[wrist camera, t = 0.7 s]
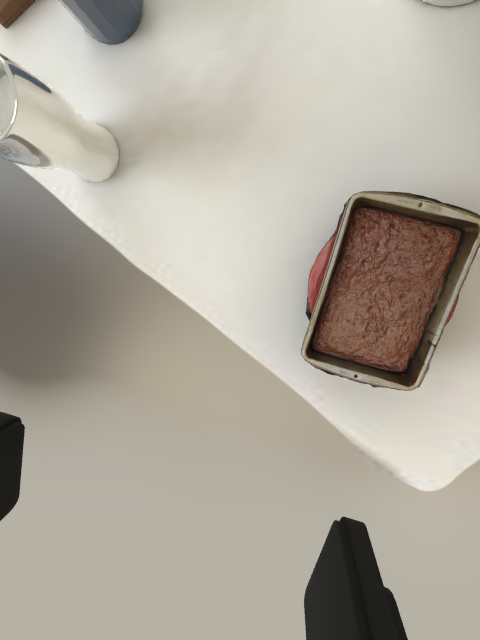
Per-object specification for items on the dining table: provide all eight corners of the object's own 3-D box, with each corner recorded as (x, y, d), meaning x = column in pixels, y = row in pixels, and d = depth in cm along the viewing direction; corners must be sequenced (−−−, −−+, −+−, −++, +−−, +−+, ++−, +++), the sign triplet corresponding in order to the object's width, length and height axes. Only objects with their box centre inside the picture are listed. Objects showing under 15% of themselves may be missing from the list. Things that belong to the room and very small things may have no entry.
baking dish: (282, 323, 41) (285, 364, 31) (343, 174, 33) (369, 171, 24) (390, 358, 41) (423, 409, 32) (472, 218, 34) (546, 233, 25)
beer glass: (107, 108, 35) (-12, 14, 21) (133, 172, 37) (36, 125, 22) (55, 134, 37) (-92, 63, 22) (81, 195, 38) (-42, 166, 23)
